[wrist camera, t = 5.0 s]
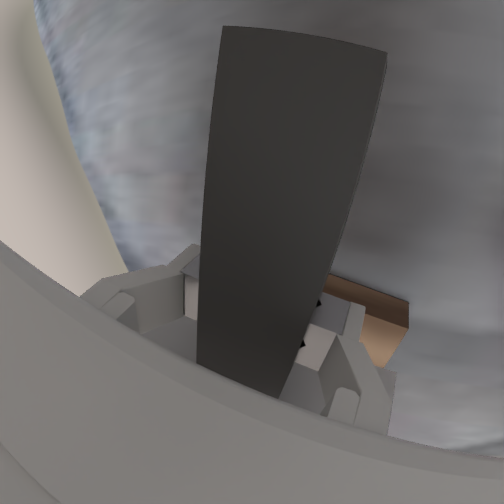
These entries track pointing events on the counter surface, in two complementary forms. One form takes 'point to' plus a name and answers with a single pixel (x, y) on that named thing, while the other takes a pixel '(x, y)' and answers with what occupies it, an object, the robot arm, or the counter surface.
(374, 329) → the board
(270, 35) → the scraper
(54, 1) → the counter surface
